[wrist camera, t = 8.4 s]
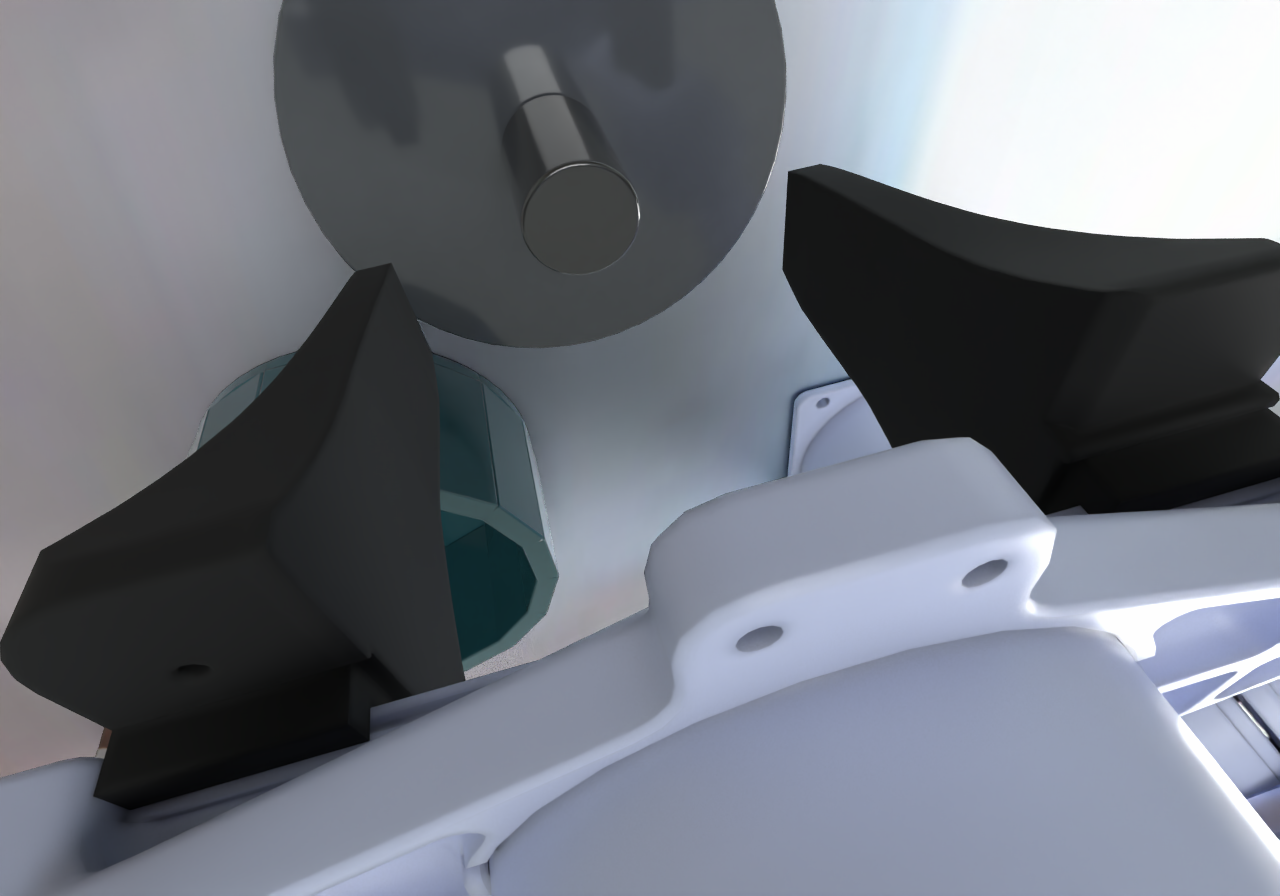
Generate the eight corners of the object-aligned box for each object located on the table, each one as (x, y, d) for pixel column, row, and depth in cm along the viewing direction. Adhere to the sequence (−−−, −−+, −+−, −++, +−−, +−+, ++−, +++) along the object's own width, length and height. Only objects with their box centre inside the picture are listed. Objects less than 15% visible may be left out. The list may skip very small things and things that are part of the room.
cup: (484, 305, 19) (506, 439, 15) (557, 516, 27) (583, 638, 23) (111, 395, 18) (39, 560, 14) (297, 586, 26) (282, 724, 22)
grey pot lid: (781, -249, 12) (910, -245, 9) (762, 276, 21) (826, 369, 18) (148, -138, 11) (57, -92, 8) (401, 365, 20) (402, 479, 17)
